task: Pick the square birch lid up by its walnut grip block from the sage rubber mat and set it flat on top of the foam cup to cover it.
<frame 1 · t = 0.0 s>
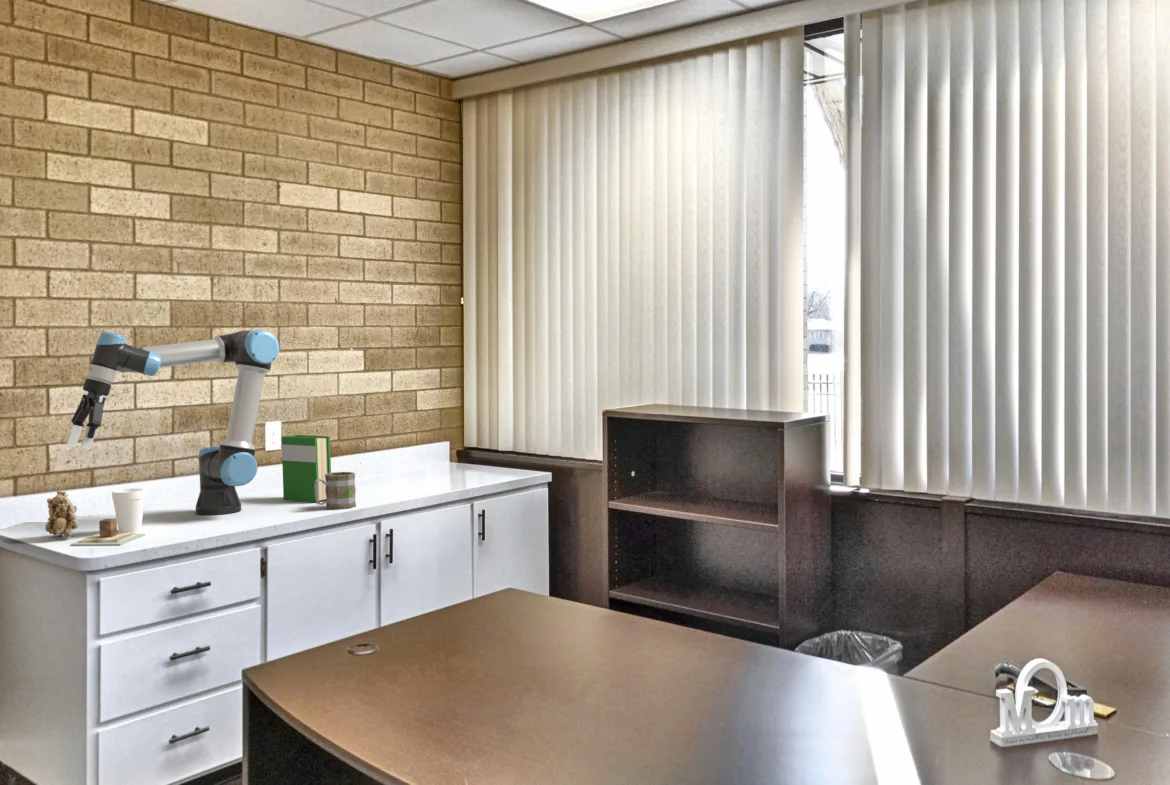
hand: (78, 447, 303), 28 cm above the worktop, tool tilted 20°, fingers open, 13 cm apart
hardback book: (307, 500, 370), on the worktop
mat: (108, 540, 298), on the worktop
mug: (335, 508, 351), on the worktop
mineral formation: (64, 538, 304), on the worktop
lid: (108, 529, 298), on the mat
foam cup: (130, 531, 313), on the worktop
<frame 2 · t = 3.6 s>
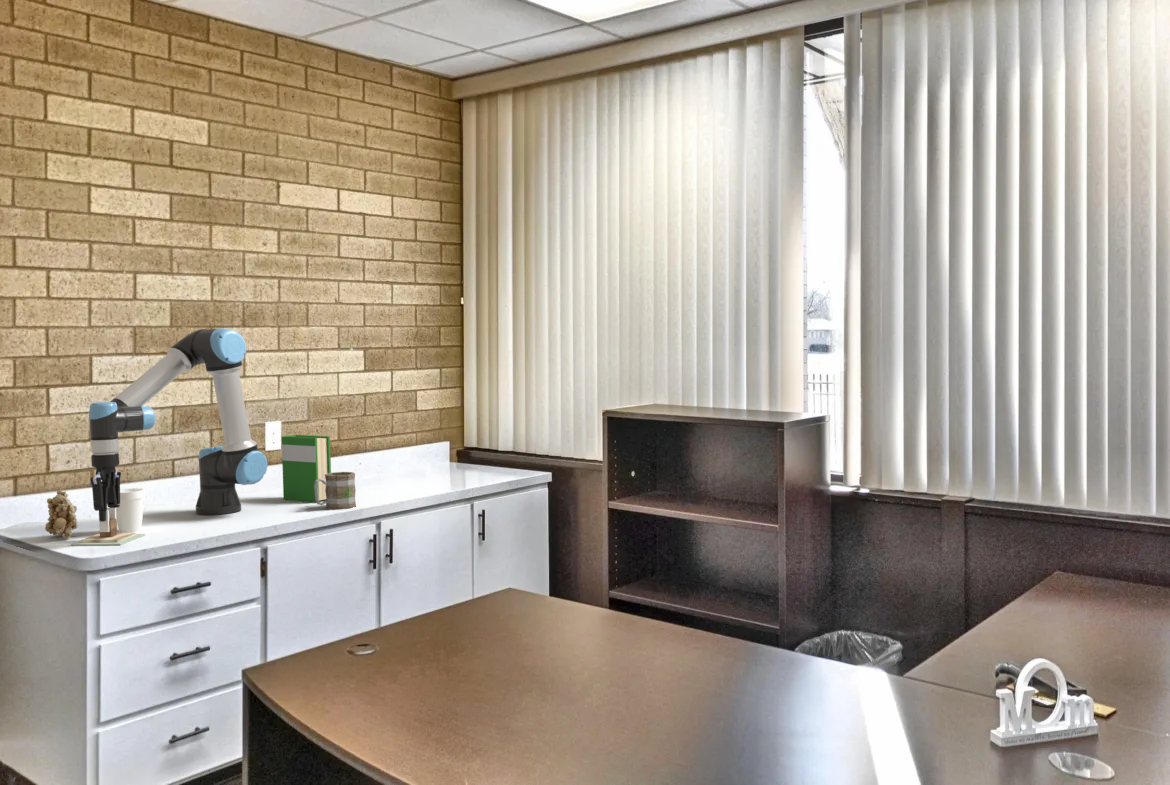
hand: (108, 530, 298), 3 cm above the worktop, tool pointing down, fingers closed on lid, 3 cm apart
lid: (108, 529, 298), on the mat, touching gripper
everything else where it was.
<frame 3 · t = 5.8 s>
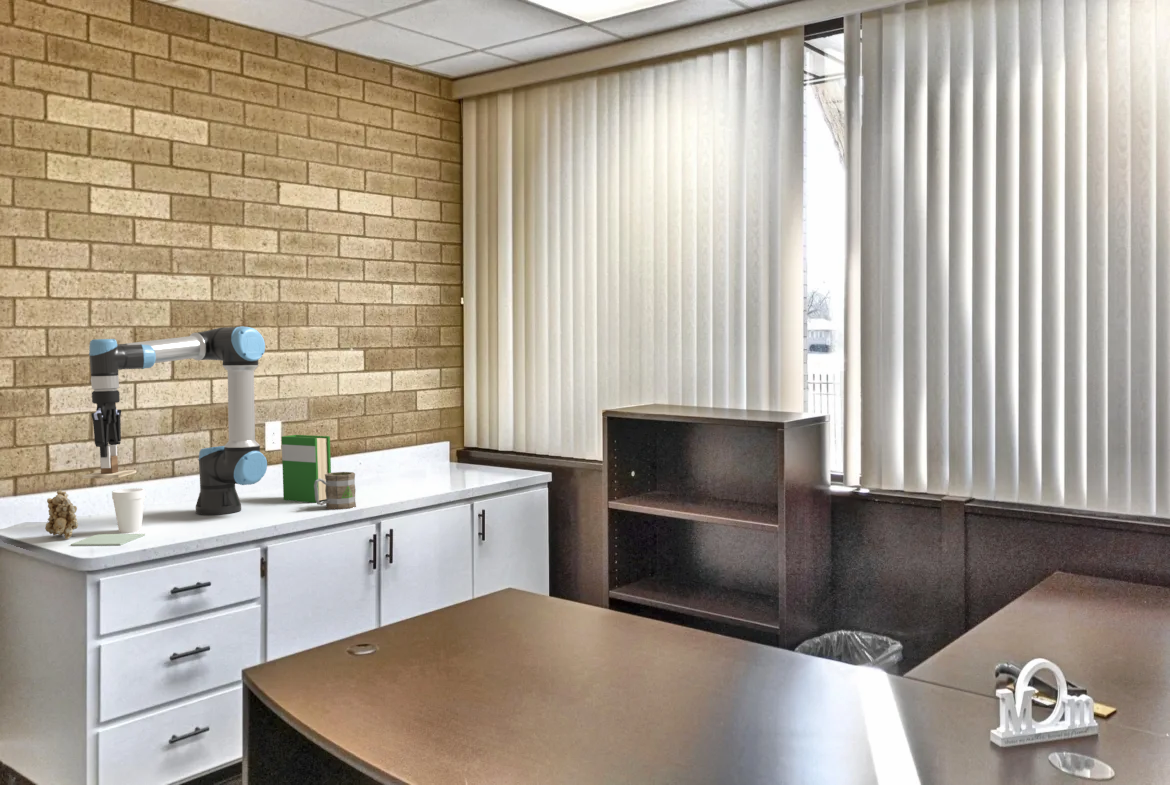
hand: (109, 466, 299), 22 cm above the worktop, tool pointing down, fingers closed on lid, 3 cm apart
lid: (109, 465, 299), point 22 cm above the worktop, touching gripper
everything else where it was.
when the fingers open (17 cm above the worktop, at t = 8.0 s): lid drops 2 cm, resting on foam cup.
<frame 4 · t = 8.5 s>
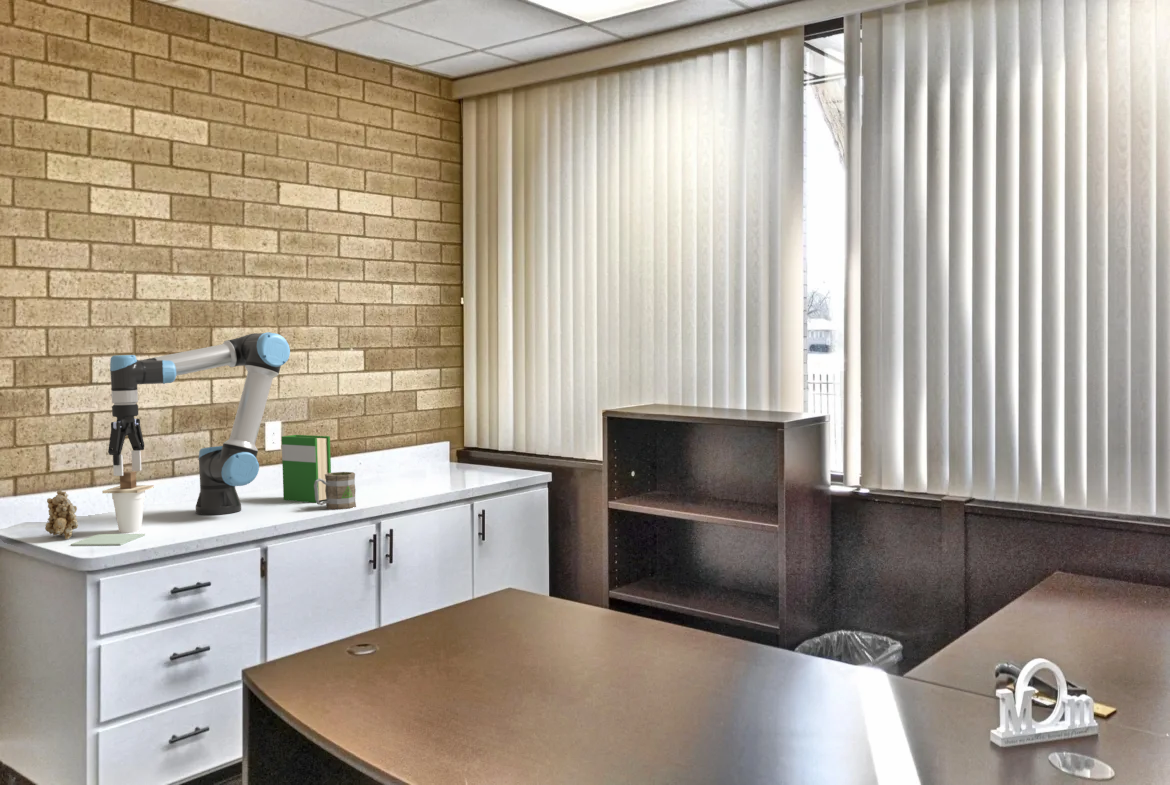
hand: (127, 473, 312), 18 cm above the worktop, tool pointing down, fingers open, 11 cm apart
lid: (128, 481, 312), point 16 cm above the worktop, touching foam cup
foam cup: (130, 531, 313), on the worktop, touching lid
everything else where it was.
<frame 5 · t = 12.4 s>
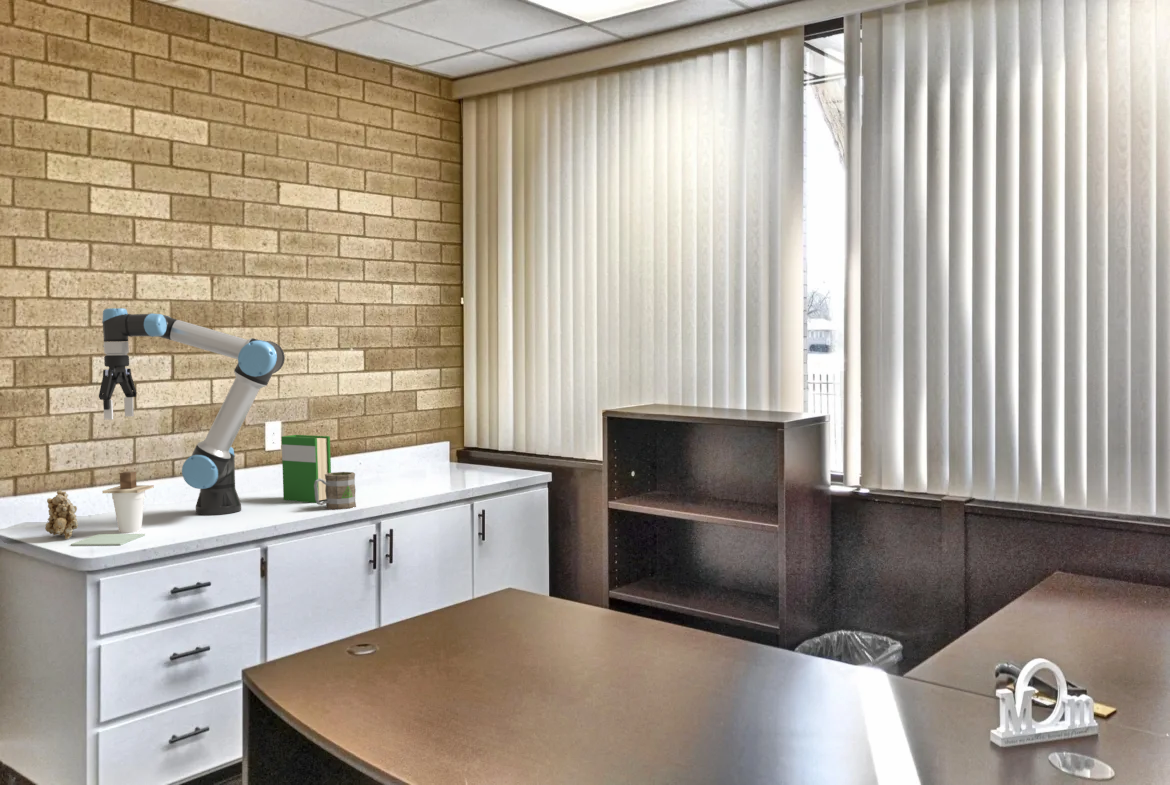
hand: (119, 418, 331), 35 cm above the worktop, tool pointing down, fingers open, 13 cm apart
nothing on the worktop moved.
at the end: lid 0.0 cm off-centre on the foam cup, point 16.1 cm above the foam cup's base; lid tilted 0°; foam cup tilted 0° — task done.
